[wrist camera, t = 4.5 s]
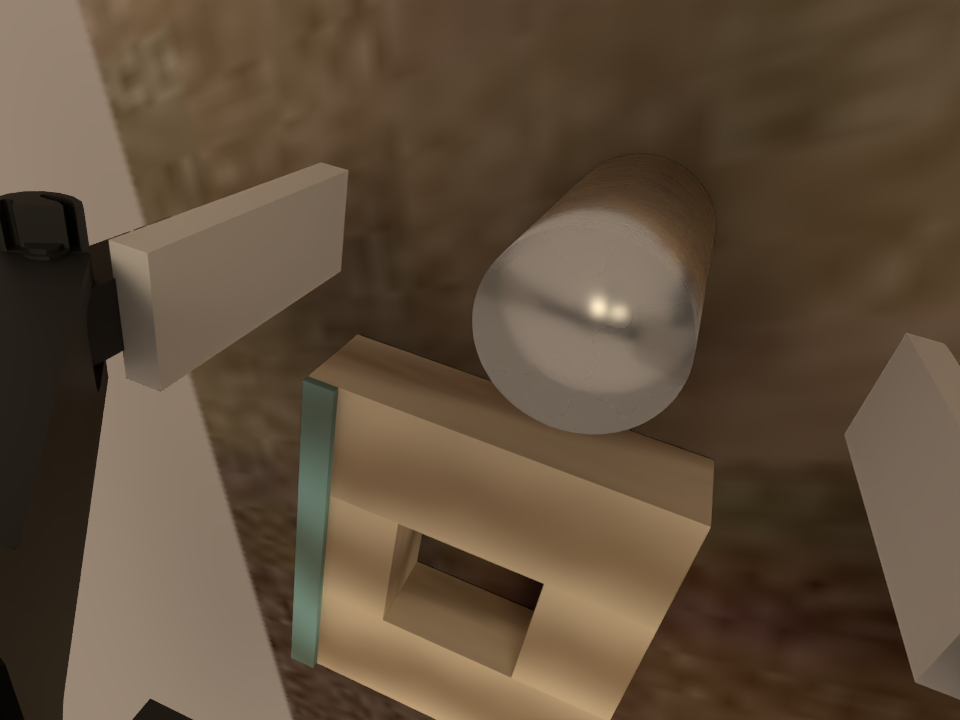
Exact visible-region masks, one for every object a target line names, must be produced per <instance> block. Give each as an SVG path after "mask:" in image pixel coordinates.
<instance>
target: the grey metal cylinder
mask: <svg viewBox="0 0 960 720" xmlns="http://www.w3.org/2000/svg"><path fill="white" fill-rule="evenodd" d="M714 238H715V215H714V211H713V207H712V203H711V201H710V199H709V196H708V194H707V192H706V191H705V189H704V187H703V186H702V185H701V183H700V182H699V181H698V179H697V178H696V177H695V176H694V175H693V174H692V173H690V172H689V171H688V170H687V169H685V168H684V167H683V166H681V165H679V164H677V163H676V162H674V161H672V160H669V159H666V158H664V157H661V156H656V155H651V154H629V155H624V156H619V157H616V158H613V159H610V160H608V161H606V162H604V163H602V164H600V165H598V166H597V167H595V168H594V169H592V170H591V171H590V172H589V173H588V174H587V175H585V176H584V177H583V178H582V179H581V180H580V181H579V182H578V183H577V184H576V185H575V186H574V187H572V188H571V189H570V190H569V191H568V192H567V193H566V194H565V195H564V196H563V197H562V198H561V199H560V200H559V201H558V202H556V203H555V204H554V205H553V206H552V207H551V208H550V209H549V210H548V211H547V212H546V213H545V214H544V215H543V216H541V217H540V218H539V219H538V220H537V221H536V222H535V223H534V224H533V225H532V226H531V227H530V228H529V229H528V230H527V231H525V232H524V233H523V234H522V235H521V236H520V237H519V238H518V239H517V240H516V241H515V242H514V243H513V244H512V245H511V246H509V247H508V248H507V249H506V250H505V251H504V252H503V253H502V254H501V255H500V256H499V257H498V258H497V259H496V260H495V261H494V263H493V264H492V265H491V266H490V267H489V269H488V271H487V272H486V274H485V275H484V277H483V279H482V281H481V283H480V285H479V287H478V290H477V293H476V297H475V300H474V306H473V313H472V329H473V337H474V342H475V346H476V350H477V353H478V356H479V358H480V361H481V363H482V366H483V367H484V369H485V371H486V373H487V375H488V376H489V378H490V379H491V381H492V382H493V384H494V385H495V386H496V388H497V389H498V390H499V391H500V392H501V393H502V394H503V396H504V397H505V398H507V399H508V400H509V401H510V402H511V403H512V404H513V405H514V406H516V407H517V408H518V409H520V410H521V411H522V412H524V413H525V414H527V415H528V416H530V417H532V418H534V419H535V420H537V421H539V422H542V423H544V424H546V425H548V426H551V427H554V428H557V429H560V430H564V431H568V432H573V433H580V434H608V433H616V432H620V431H624V430H628V429H631V428H633V427H636V426H638V425H641V424H643V423H645V422H647V421H648V420H650V419H652V418H654V417H655V416H656V415H658V414H659V413H660V412H662V411H663V410H664V409H665V408H666V407H667V406H668V405H669V404H670V403H672V402H673V401H674V399H675V398H676V397H677V395H678V394H679V393H680V391H681V390H682V388H683V386H684V385H685V383H686V381H687V379H688V377H689V374H690V371H691V368H692V366H693V361H694V356H695V351H696V345H697V339H698V333H699V327H700V321H701V315H702V309H703V303H704V298H705V292H706V286H707V280H708V274H709V268H710V262H711V256H712V250H713V244H714Z"/></svg>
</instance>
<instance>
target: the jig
mask: <svg viewBox="0 0 960 720" xmlns="http://www.w3.org/2000/svg"><path fill="white" fill-rule="evenodd" d="M713 478H714V460H712V459H709V458H706V457H703V456H701V455H698V454H695V453H692V452H689V451H686V450H684V449H681V448H678V447H675V446H672V445H669V444H667V443H664V442H661V441H658V440H655V439H652V438H650V437H647V436H644V435H641V434H638V433H635V432H633V431H630V430H624V431H620V432H616V433H608V434H580V433H573V432H568V431H564V430H560V429H557V428H554V427H551V426H548V425H546V424H544V423H542V422H539V421H537V420H535V419H534V418H532V417H530V416H528V415H527V414H525V413H524V412H522V411H521V410H520V409H518V408H517V407H516V406H514V405H513V404H512V403H511V402H510V401H509V400H508V399H507V398H505V397H504V396H503V394H502V393H501V392H500V391H499V390H498V389H497V388H496V386H495V385H494V384H493V382H491V381H488V380H485V379H483V378H480V377H477V376H474V375H471V374H468V373H466V372H463V371H460V370H457V369H454V368H451V367H449V366H446V365H443V364H440V363H437V362H434V361H432V360H429V359H426V358H423V357H420V356H417V355H415V354H412V353H409V352H406V351H403V350H400V349H398V348H395V347H392V346H389V345H386V344H383V343H381V342H378V341H375V340H372V339H369V338H366V337H364V336H361V335H358V334H357V335H356V336H355V337H354V338H353V339H351V340H350V341H349V342H348V343H347V344H346V345H344V346H343V347H342V348H341V349H340V350H338V351H337V352H336V353H335V354H334V355H332V356H331V357H330V358H329V359H328V360H327V361H325V362H324V363H323V364H322V365H321V366H319V367H318V368H317V369H316V370H315V371H313V372H312V373H311V374H310V375H309V376H307V377H306V378H305V379H304V380H303V393H302V417H301V440H300V464H299V487H298V511H297V534H296V558H295V581H294V604H293V628H292V651H291V658H293V659H295V660H297V661H299V662H302V663H304V664H306V665H308V666H310V667H312V668H314V667H315V665H316V663H318V664H321V665H323V666H325V667H327V668H329V669H331V670H333V671H335V672H337V673H339V674H342V675H344V676H346V677H348V678H350V679H352V680H354V681H356V682H358V683H361V684H363V685H365V686H367V687H369V688H371V689H373V690H375V691H377V692H380V693H382V694H384V695H386V696H388V697H390V698H392V699H394V700H396V701H399V702H401V703H403V704H405V705H407V706H409V707H411V708H413V709H415V710H418V711H420V712H422V713H424V714H426V715H428V716H430V717H432V718H434V719H436V720H610V719H611V717H612V715H613V713H614V712H615V710H616V708H617V706H618V704H619V702H620V700H621V698H622V696H623V694H624V692H625V691H626V689H627V687H628V685H629V683H630V681H631V679H632V677H633V675H634V673H635V671H636V669H637V668H638V666H639V664H640V662H641V660H642V658H643V656H644V654H645V652H646V650H647V648H648V646H649V645H650V643H651V641H652V639H653V637H654V635H655V633H656V631H657V629H658V627H659V625H660V624H661V622H662V620H663V618H664V616H665V614H666V612H667V610H668V608H669V606H670V604H671V602H672V601H673V599H674V597H675V595H676V593H677V591H678V589H679V587H680V585H681V583H682V581H683V580H684V578H685V576H686V574H687V572H688V570H689V568H690V566H691V564H692V562H693V560H694V558H695V557H696V555H697V553H698V551H699V549H700V547H701V545H702V543H703V541H704V539H705V537H706V535H707V534H708V532H709V530H710V528H711V517H712V497H713ZM422 534H424V535H427V536H429V537H432V538H434V539H437V540H439V541H441V542H444V543H446V544H449V545H451V546H453V547H456V548H458V549H461V550H463V551H466V552H468V553H470V554H473V555H475V556H478V557H480V558H483V559H485V560H487V561H490V562H492V563H495V564H497V565H499V566H502V567H504V568H507V569H509V570H512V571H514V572H516V573H519V574H521V575H524V576H526V577H528V578H531V579H533V580H536V581H538V582H541V583H543V587H542V590H541V593H540V595H539V598H538V601H537V604H536V607H535V610H534V611H533V610H530V609H528V608H526V607H523V606H521V605H519V604H516V603H514V602H512V601H509V600H507V599H504V598H502V597H500V596H497V595H495V594H493V593H490V592H488V591H486V590H483V589H481V588H479V587H476V586H474V585H471V584H469V583H467V582H464V581H462V580H460V579H457V578H455V577H453V576H450V575H448V574H445V573H443V572H441V571H438V570H436V569H434V568H431V567H429V566H427V565H424V564H422V563H419V562H417V559H418V554H419V548H420V543H421V538H422Z"/></svg>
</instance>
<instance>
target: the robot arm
mask: <svg viewBox="0 0 960 720" xmlns="http://www.w3.org/2000/svg"><path fill="white" fill-rule="evenodd" d="M347 182H348V170H346V169H342V168H339V167H335V166H332V165H328V164H325V163H322V162H321V163H318V164H315V165H312V166H310V167H307V168H304V169H301V170H299V171H296V172H293V173H290V174H288V175H285V176H282V177H280V178H277V179H274V180H271V181H269V182H266V183H263V184H260V185H258V186H255V187H252V188H249V189H247V190H244V191H241V192H238V193H236V194H233V195H230V196H227V197H225V198H222V199H219V200H216V201H214V202H211V203H208V204H205V205H203V206H200V207H197V208H195V209H192V210H189V211H186V212H184V213H181V214H178V215H175V216H172V217H168V218H165V219H162V220H159V221H157V222H154V223H151V224H149V225H148V226H143V227H140V228H137V229H135V230H134V231H132V232H126V233H124V234H121V235H118V236H115V237H113V238H110V239H107V240H104V241H102V242H99V243H96V244H93V245H91V246H89V242H88V235H87V229H86V221H85V216H84V208H83V204H82V202H81V201H80V200H78V199H76V198H75V197H73V196H69V195H65V194H61V193H54V192H45V191H27V192H25V191H24V192H17V193H10V194H5V195H2V196H0V720H63V699H64V690H65V683H66V675H67V668H68V661H69V654H70V647H71V640H72V633H73V626H74V618H75V611H76V604H77V597H78V590H79V582H80V576H81V568H82V561H83V554H84V547H85V540H86V533H87V526H88V518H89V511H90V504H91V497H92V490H93V482H94V475H95V468H96V461H97V454H98V447H99V440H100V432H101V425H102V418H103V411H104V404H105V397H106V390H107V383H108V373H107V365H106V360H107V359H108V358H111V357H112V356H114V355H116V354H118V353H120V352H121V351H123V356H124V364H125V372H126V378H127V379H130V380H132V381H135V382H137V383H140V384H143V385H145V386H148V387H151V388H153V389H156V390H158V391H162V390H164V389H165V388H167V387H168V386H170V385H171V384H173V383H174V382H176V381H177V380H178V379H180V378H182V377H183V376H185V375H186V374H188V373H189V372H191V371H192V370H194V369H195V368H197V367H198V366H200V365H201V364H203V363H204V362H206V361H207V360H209V359H210V358H212V357H213V356H215V355H216V354H218V353H219V352H221V351H222V350H224V349H225V348H227V347H228V346H230V345H231V344H233V343H234V342H236V341H237V340H239V339H240V338H242V337H243V336H245V335H246V334H248V333H249V332H251V331H252V330H254V329H255V328H257V327H258V326H260V325H261V324H263V323H264V322H266V321H267V320H269V319H270V318H272V317H273V316H275V315H276V314H278V313H279V312H281V311H282V310H284V309H285V308H287V307H288V306H290V305H291V304H293V303H294V302H296V301H297V300H299V299H300V298H302V297H303V296H305V295H306V294H308V293H309V292H311V291H312V290H314V289H315V288H317V287H318V286H320V285H321V284H323V283H324V282H326V281H327V280H329V279H330V278H332V277H333V276H335V275H336V274H338V273H339V272H341V263H342V249H343V236H344V223H345V209H346V196H347ZM844 436H845V439H846V443H847V446H848V450H849V453H850V457H851V460H852V464H853V467H854V471H855V474H856V478H857V481H858V485H859V488H860V492H861V495H862V499H863V502H864V506H865V509H866V513H867V516H868V520H869V523H870V527H871V530H872V534H873V537H874V541H875V544H876V548H877V551H878V555H879V558H880V562H881V565H882V569H883V572H884V576H885V579H886V583H887V586H888V590H889V593H890V597H891V600H892V604H893V607H894V611H895V614H896V618H897V621H898V625H899V628H900V632H901V635H902V639H903V642H904V646H905V649H906V653H907V656H908V660H909V663H910V667H911V670H912V674H913V677H914V681H915V683H918V684H920V685H923V686H926V687H928V688H931V689H933V690H936V691H939V692H941V693H944V694H946V695H949V696H951V697H954V698H957V699H959V700H960V365H959V364H958V362H957V361H956V359H955V358H954V356H953V355H952V353H951V352H950V350H949V349H948V347H947V346H946V344H944V343H941V342H937V341H934V340H930V339H927V338H923V337H920V336H916V335H913V334H910V333H906V334H905V335H904V337H903V339H902V340H901V342H900V344H899V345H898V347H897V349H896V350H895V352H894V353H893V355H892V357H891V358H890V360H889V362H888V363H887V365H886V367H885V368H884V370H883V371H882V373H881V375H880V376H879V378H878V380H877V381H876V383H875V385H874V386H873V388H872V390H871V391H870V393H869V394H868V396H867V398H866V399H865V401H864V403H863V404H862V406H861V408H860V409H859V411H858V413H857V414H856V416H855V417H854V419H853V421H852V422H851V424H850V426H849V427H848V429H847V431H846V432H845V434H844ZM133 720H192V719H191V718H188V717H186V716H184V715H182V714H180V713H178V712H176V711H174V710H172V709H170V708H168V707H166V706H164V705H162V704H160V703H158V702H156V701H154V700H152V699H149V701H148V702H147V703H146V704H145V705H144V707H143V708H142V709H141V710H140V711H139V713H138V714H137V715H136V716H135V717H134V718H133Z"/></svg>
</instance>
